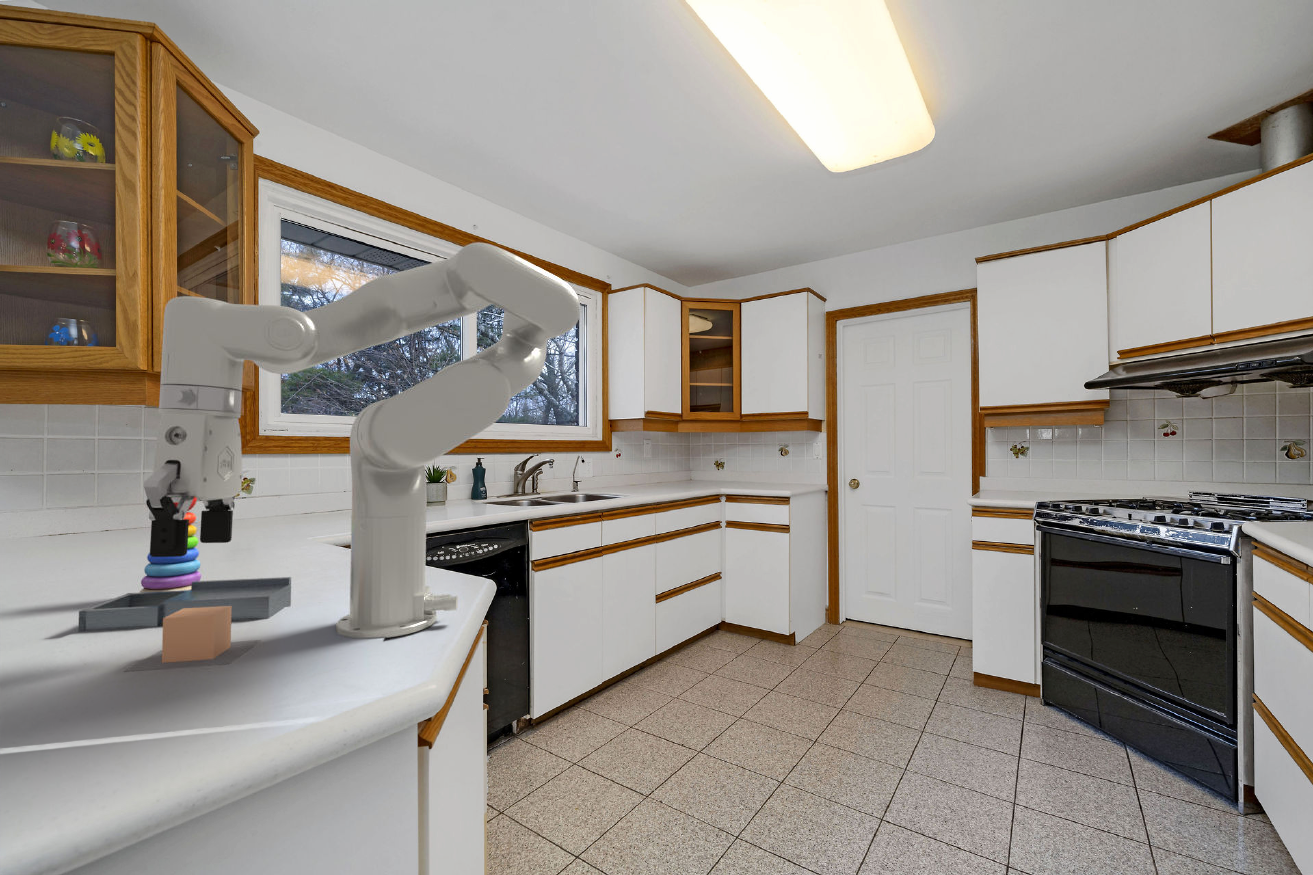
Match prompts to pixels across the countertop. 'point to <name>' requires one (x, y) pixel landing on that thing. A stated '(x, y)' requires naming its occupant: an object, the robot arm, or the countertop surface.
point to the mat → (224, 658)
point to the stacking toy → (174, 565)
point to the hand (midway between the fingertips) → (193, 548)
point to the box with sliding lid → (190, 603)
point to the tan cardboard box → (196, 634)
